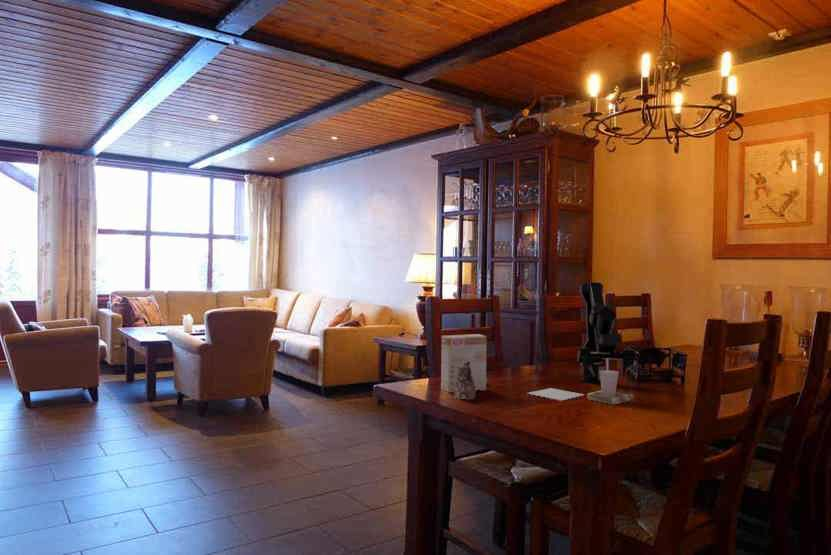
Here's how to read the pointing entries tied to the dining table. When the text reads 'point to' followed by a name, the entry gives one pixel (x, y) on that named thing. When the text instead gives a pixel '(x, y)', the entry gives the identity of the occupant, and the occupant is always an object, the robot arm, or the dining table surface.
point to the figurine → (464, 382)
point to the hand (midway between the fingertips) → (609, 376)
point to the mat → (556, 394)
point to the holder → (598, 397)
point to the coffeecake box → (463, 359)
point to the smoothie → (608, 382)
